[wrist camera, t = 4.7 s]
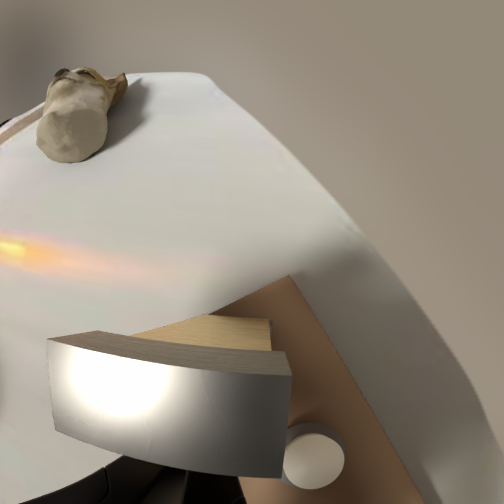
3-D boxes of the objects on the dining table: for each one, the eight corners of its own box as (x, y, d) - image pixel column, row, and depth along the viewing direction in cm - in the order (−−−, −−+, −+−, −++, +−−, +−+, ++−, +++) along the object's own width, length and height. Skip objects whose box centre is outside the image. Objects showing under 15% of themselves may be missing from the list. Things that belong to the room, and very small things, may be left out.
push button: (297, 491, 10) (301, 498, 9) (271, 449, 11) (272, 454, 10) (346, 464, 11) (354, 469, 10) (321, 423, 12) (327, 425, 11)
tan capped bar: (270, 344, 15) (281, 478, 3) (201, 339, 15) (55, 430, 3) (272, 314, 15) (292, 375, 3) (203, 309, 15) (46, 338, 4)
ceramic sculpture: (-8, 128, 15) (38, 66, 23) (35, 195, 22) (61, 118, 30) (102, 73, 16) (118, 32, 24) (133, 158, 24) (134, 90, 31)
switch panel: (327, 596, 7) (333, 612, 5) (166, 343, 16) (153, 335, 14) (434, 534, 9) (450, 543, 7) (287, 284, 18) (290, 269, 16)
